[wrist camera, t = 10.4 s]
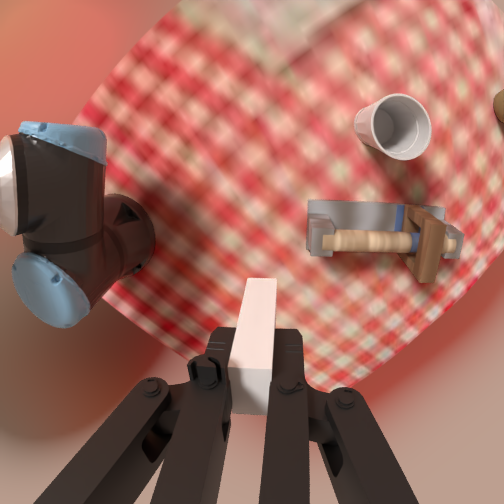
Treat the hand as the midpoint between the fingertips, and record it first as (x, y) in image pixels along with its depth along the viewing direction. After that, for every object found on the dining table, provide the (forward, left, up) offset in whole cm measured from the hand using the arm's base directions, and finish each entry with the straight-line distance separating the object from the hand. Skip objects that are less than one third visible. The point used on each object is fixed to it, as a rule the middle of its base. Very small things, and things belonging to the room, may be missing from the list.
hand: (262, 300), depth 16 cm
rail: (+17, -6, -32) cm, 37 cm away
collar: (+22, -6, -31) cm, 38 cm away
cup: (+15, +10, -33) cm, 37 cm away
